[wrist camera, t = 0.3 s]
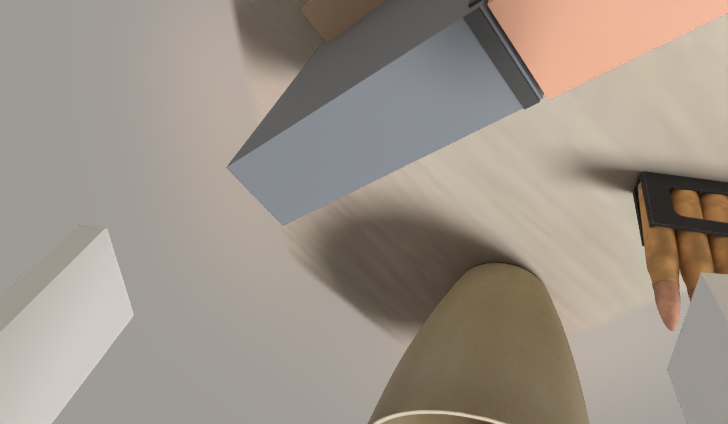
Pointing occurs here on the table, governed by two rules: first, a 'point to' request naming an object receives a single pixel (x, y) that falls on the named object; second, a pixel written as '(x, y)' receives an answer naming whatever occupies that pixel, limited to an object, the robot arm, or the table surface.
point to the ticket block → (381, 98)
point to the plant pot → (487, 358)
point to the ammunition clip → (681, 234)
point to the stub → (593, 33)
